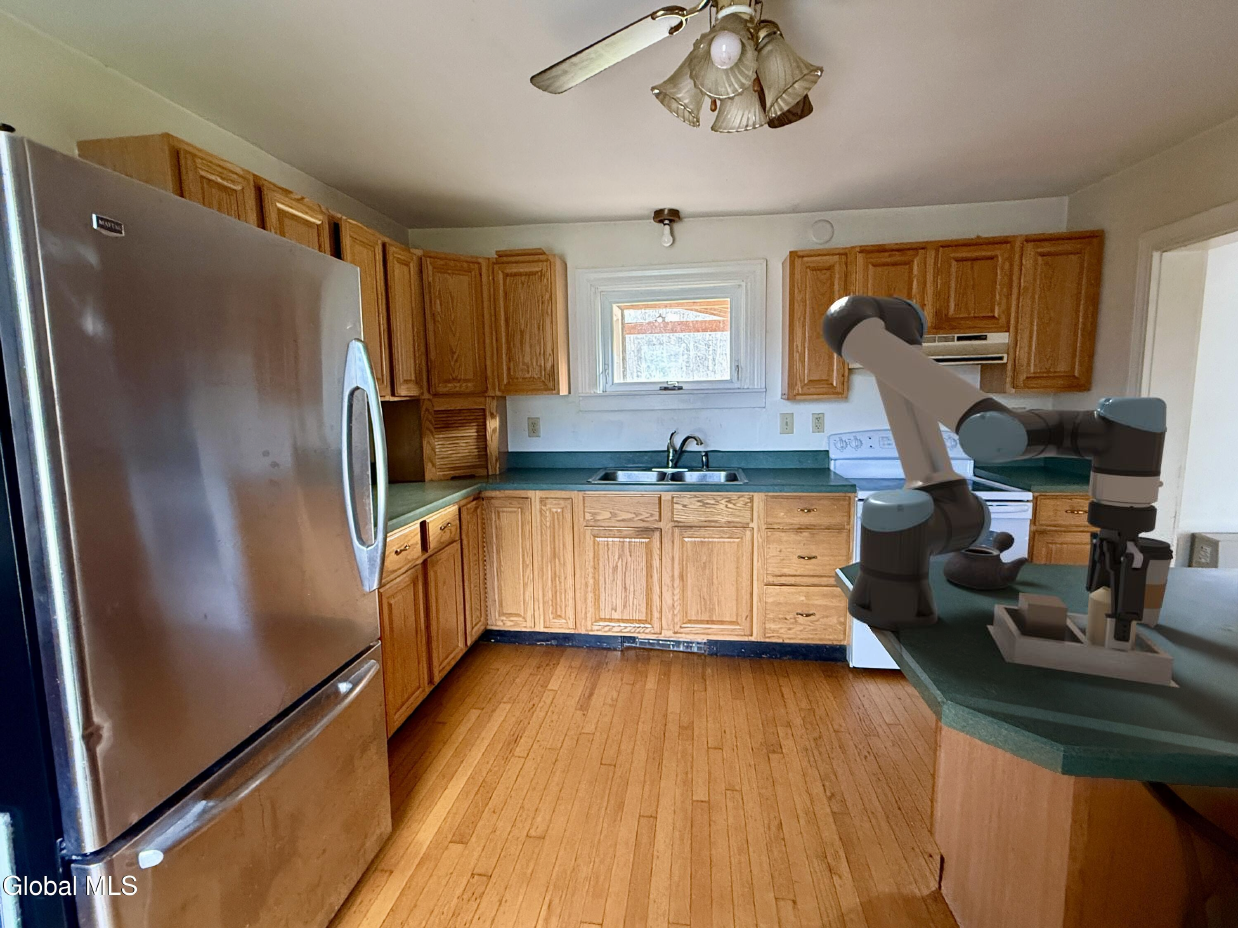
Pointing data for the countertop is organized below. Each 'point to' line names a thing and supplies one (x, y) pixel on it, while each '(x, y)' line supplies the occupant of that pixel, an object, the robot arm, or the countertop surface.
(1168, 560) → the coffee cup
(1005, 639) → the divided tray
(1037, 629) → the block
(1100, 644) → the candle
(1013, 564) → the teapot
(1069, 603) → the countertop surface
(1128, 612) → the robot arm
